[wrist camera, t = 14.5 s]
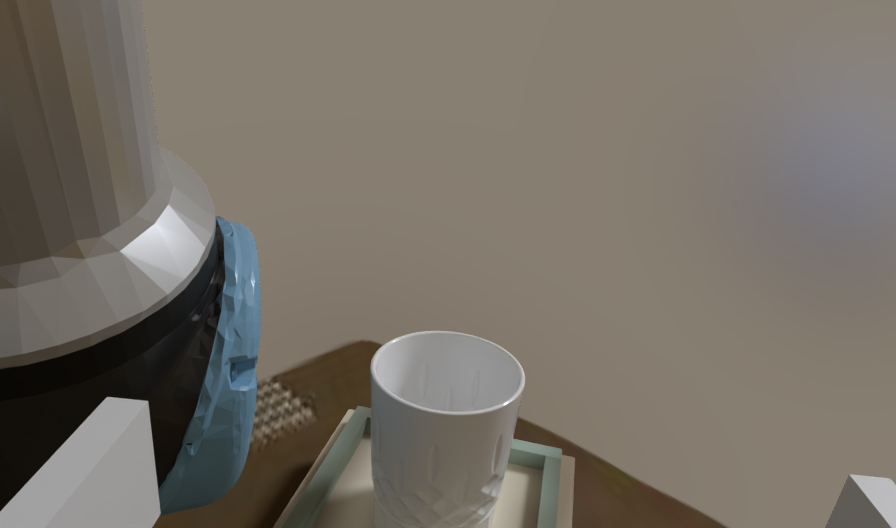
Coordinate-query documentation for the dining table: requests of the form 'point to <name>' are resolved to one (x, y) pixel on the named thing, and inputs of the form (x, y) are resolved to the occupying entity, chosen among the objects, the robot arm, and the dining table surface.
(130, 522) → the robot arm
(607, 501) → the dining table surface
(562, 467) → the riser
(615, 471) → the dining table surface
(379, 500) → the white cup
